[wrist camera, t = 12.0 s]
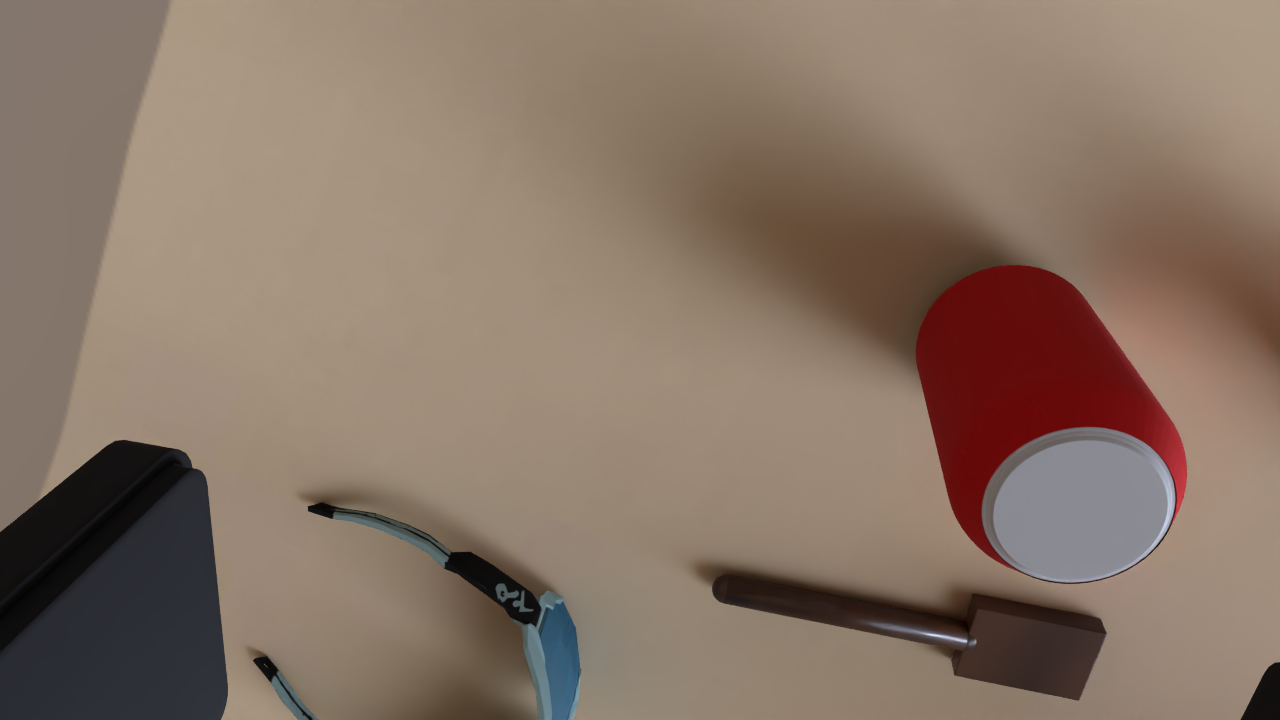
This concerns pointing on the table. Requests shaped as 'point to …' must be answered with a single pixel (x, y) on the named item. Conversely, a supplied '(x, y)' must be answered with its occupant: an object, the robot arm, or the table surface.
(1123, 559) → the beverage can
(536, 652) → the sunglasses
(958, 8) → the table surface
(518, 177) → the table surface
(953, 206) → the table surface
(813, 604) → the brown flat paddle
